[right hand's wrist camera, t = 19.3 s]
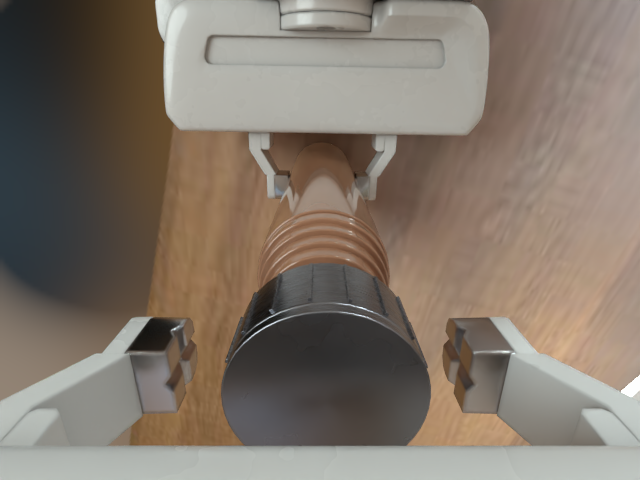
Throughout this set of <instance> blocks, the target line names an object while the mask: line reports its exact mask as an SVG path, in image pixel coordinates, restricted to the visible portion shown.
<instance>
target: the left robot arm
mask: <svg viewBox="0 0 640 480" xmlns="http://www.w3.org/2000/svg"><path fill="white" fill-rule="evenodd" d="M471 1H472V0H155V6H156V14H157V22H158V29H159V33H160V36H161V38H162V40H163V42H164V94H165V107H166V113H167V115H168V117H169V118H170V119H171V121H172V122H173V123H174V124H175V125H176V126H177V127H178V129H180V130H182V131H216V132H249V150H250V151H251V153H252V155H253V156H254V158H255V159H256V161H257V162H258V164H259V166H260V167H261V169H262V170H263V172H264V174H265V175H267V190H268V198H269V199H281V197H282V195H283V192H284V189H285V187H286V184H287V181H288V179H289V176H290V171H286V170H279V169H278V167H277V166H276V164H275V162H274V160H273V159H272V157H271V155H270V153H269V152H268V150H269V149H270V147H271V146H272V145H273V144H274V142H273V133H331V134H372V147H373V148H374V149H375V150H376V151H377V153H376V154H375V156H374V158H373V159H372V161H371V163H370V164H369V166H368V167H367V169H366V171H365V172H354V176H355V179H356V181H357V183H358V186H359V188H360V190H361V193H362V195H363V197H364V200H375V198H376V188H377V177H379V176H380V175H381V173H382V172H383V170H384V169H385V167H386V166H387V164H388V163H389V161H390V160H391V159H392V157H393V156H394V154H395V153H396V144H397V135H446V136H465V135H467V134H469V133H470V132H471V131H472V130H473V129H474V127H475V126H476V125H477V124H478V123H479V122H480V120H481V118H482V115H483V110H484V105H485V98H486V90H487V81H488V68H489V30H488V25H487V22H486V19H485V17H484V15H483V13H482V12H481V11H480V10H479V8H477V7H476V6H475V5H473V4H472V3H470V2H471Z"/></svg>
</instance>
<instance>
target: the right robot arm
mask: <svg viewBox="0 0 640 480" xmlns="http://www.w3.org/2000/svg"><path fill="white" fill-rule="evenodd" d="M193 333H194V326H193V321H192V320H191V319H190V318H175V317H135V318H132V319H131V320H130V321H129V322H128V323H127V324H126V326H125V327H124V328H123V329H122V330H121V331H120V333H119V334H118V335H117V336H116V337H115V339H114V340H113V341H112V342H111V343H110V344H109V346H108V347H107V348H106V349H105V350H104V352H103V353H102V354H94V355H92V356H90V357H88V358H86V359H84V360H82V361H80V362H78V363H76V364H74V365H72V366H70V367H68V368H66V369H64V370H62V371H60V372H58V373H56V374H54V375H52V376H50V377H48V378H46V379H44V380H42V381H40V382H38V383H36V384H34V385H32V386H30V387H28V388H26V389H24V390H22V391H20V392H17V393H15V394H13V395H12V396H9V397H8V398H6V399H3V400H1V401H0V480H640V376H639V377H637V378H636V379H635V380H634V381H633V382H632V383H630V384H629V385H628V386H627V387H626V388H625V389H623V390H622V391H621V392H620V391H618V390H616V389H614V388H612V387H610V386H608V385H606V384H604V383H602V382H600V381H598V380H596V379H594V378H592V377H590V376H588V375H586V374H584V373H582V372H580V371H578V370H576V369H574V368H572V367H570V366H568V365H566V364H564V363H562V362H560V361H558V360H556V359H554V358H552V357H550V356H548V355H546V354H538V353H537V351H536V350H535V349H534V348H533V347H532V346H531V344H530V343H529V342H528V341H527V340H526V339H525V337H524V336H523V335H522V334H521V333H520V331H519V330H518V329H517V328H516V327H515V326H514V324H513V323H512V322H511V321H510V320H509V319H508V318H506V317H486V318H449V320H448V322H447V326H446V333H447V335H448V337H449V340H448V341H447V342H446V343H445V344H444V346H443V355H442V356H443V367H444V371H445V374H446V377H447V379H448V381H450V382H451V383H453V384H454V385H455V388H454V395H455V397H456V399H457V401H458V403H459V406H460V408H461V410H462V412H463V413H484V414H497V416H498V417H499V418H501V419H502V420H503V421H504V422H505V423H506V424H508V425H509V426H510V427H511V428H512V429H513V430H515V431H516V432H517V433H518V434H519V435H520V436H521V437H523V438H524V439H525V440H526V441H527V442H528V443H530V444H531V445H532V446H108V445H109V444H110V443H112V442H113V441H114V440H115V439H116V438H117V437H119V436H120V435H121V434H122V433H123V432H124V431H126V430H127V429H128V428H129V427H130V426H131V425H133V424H134V423H135V422H136V421H137V420H138V419H140V418H141V417H142V416H143V414H155V413H177V412H178V410H179V408H180V406H181V403H182V401H183V399H184V397H185V395H186V388H185V385H186V384H187V383H189V382H190V381H192V379H193V376H194V374H195V371H196V366H197V346H196V344H195V343H194V342H193V341H192V340H191V337H192V335H193Z"/></svg>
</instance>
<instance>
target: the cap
mask: <svg viewBox="0 0 640 480" xmlns="http://www.w3.org/2000/svg"><path fill="white" fill-rule="evenodd" d="M225 362H226V363H227V366H226V369H225V372H224V376H223V380H222V387H221V398H222V406H223V410H224V414H225V417H226V419H227V421H228V423H229V426H230V427H231V429H232V430H233V432H234V433H235V435H236V436H237V437H238V438H239V440H240V441H241V442H242V443H243V444H244V445H245V446H406V445H407V444H408V443H409V442H410V441H411V440H412V439H413V438H414V437H415V435H416V434H417V433H418V431H419V430H420V428H421V426H422V424H423V423H424V421H425V419H426V416H427V413H428V410H429V405H430V399H431V385H430V379H429V375H428V372H427V369H426V368H428V367H427V363H426V361H425V358H424V356H423V353H422V351H421V348H420V346H419V343H418V341H417V338H416V336H415V333H414V331H413V328H412V325H411V323H410V322H409V320H408V318H407V315H406V313H405V310H404V308H403V305H402V302H401V300H400V298H399V296H398V297H396V296H395V294H394V293H393V292H392V291H391V290H390V289H389V288H388V287H387V286H386V285H385V284H384V283H383V282H381V281H380V280H379V279H378V277H377V276H375V277H374V276H373V275H371V274H369V273H367V272H365V271H362V270H360V269H358V268H355V267H351V266H347V264H344V265H342V264H335V263H315V264H313V263H310V264H308V265H303V266H299V267H296V268H293V269H290V270H287V271H285V272H283V273H279V274H278V275H277V276H276V277H274V278H273V279H271V280H270V281H268V282H267V283H266V284H265V285H264V286H263V287H262V288H261V289H260V290H259V291H258V292H257V293H256V292H255V293H254V294H253V297H252V300H251V302H250V303H249V305H248V307H247V309H246V312H245V314H244V317H241V318H240V321H239V324H238V327H237V330H236V332H235V335H234V338H233V341H232V344H231V346H230V349H229V352H228V355H227V358H226V361H225Z"/></svg>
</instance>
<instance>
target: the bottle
mask: <svg viewBox="0 0 640 480" xmlns="http://www.w3.org/2000/svg"><path fill="white" fill-rule="evenodd" d="M310 263H313V264H315V263H335V264H342V265H344V264H347V266H351V267H355V268H358V269H360V270H362V271H365V272H367V273H369V274H371V275H373V276H374V277H375V276H377V277H378V279H379V280H380V281H381V282H383V283H384V284H385V285H386V286H387V287H388V288H389V281H390V272H389V264H388V257H387V253H386V250H385V247H384V245H383V243H382V240H381V238H380V235H379V233H378V231H377V228H376V226H375V224H374V221H373V219H372V216H371V214H370V212H369V209H368V207H367V205H366V202H365V200H364V197H363V195H362V193H361V190H360V188H359V186H358V183H357V181H356V179H355V176H354V174H353V171H352V169H351V167H350V164H349V162H348V160H347V157H346V156H345V154H344V153H343V152H342V151H341V150H340V149H339V148H338V147H336V146H335V145H333V144H330V143H325V142H318V143H313V144H311V145H309V146H307V147H305V148H304V149H303V150H302V151H301V152H300V153H299V154H298V156H297V158H296V160H295V163H294V166H293V168H292V171H291V173H290V176H289V179H288V181H287V184H286V187H285V189H284V192H283V195H282V197H281V200H280V203H279V205H278V208H277V211H276V213H275V216H274V219H273V221H272V224H271V227H270V229H269V232H268V235H267V237H266V240H265V242H264V245H263V248H262V250H261V253H260V258H259V265H258V286H259V290H260V289H261V288H262V287H263V286H264V285H265V284H266V283H267V282H268V281H270V280H271V279H273V278H274V277H276V276H277V275H278V274H279V273H283V272H285V271H287V270H290V269H293V268H296V267H299V266H303V265H308V264H310Z"/></svg>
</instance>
